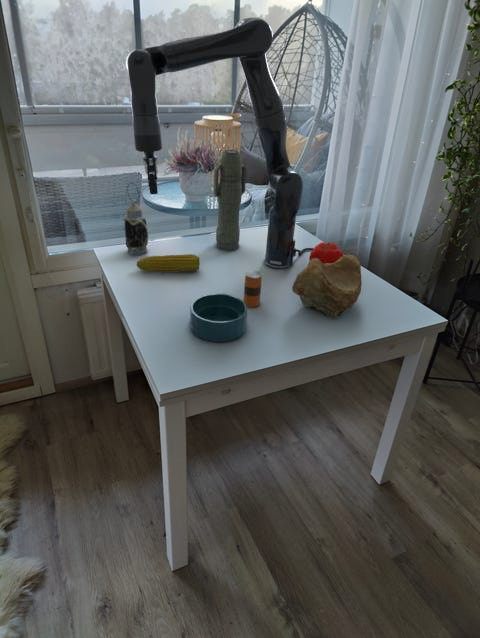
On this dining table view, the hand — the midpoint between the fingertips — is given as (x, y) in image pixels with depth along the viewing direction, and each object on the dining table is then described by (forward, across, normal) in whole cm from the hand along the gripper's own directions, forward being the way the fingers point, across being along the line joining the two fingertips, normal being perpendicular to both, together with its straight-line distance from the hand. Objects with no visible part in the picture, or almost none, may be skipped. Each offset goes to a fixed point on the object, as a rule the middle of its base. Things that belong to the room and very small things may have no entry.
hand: (153, 190), depth 133 cm
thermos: (+29, +22, -27) cm, 45 cm away
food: (+28, +3, -3) cm, 29 cm away
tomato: (+31, -2, -57) cm, 65 cm away
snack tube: (+30, -22, -25) cm, 45 cm away
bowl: (+30, -34, -13) cm, 47 cm away
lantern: (+27, +20, +7) cm, 35 cm away
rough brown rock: (+32, -27, -49) cm, 64 cm away
